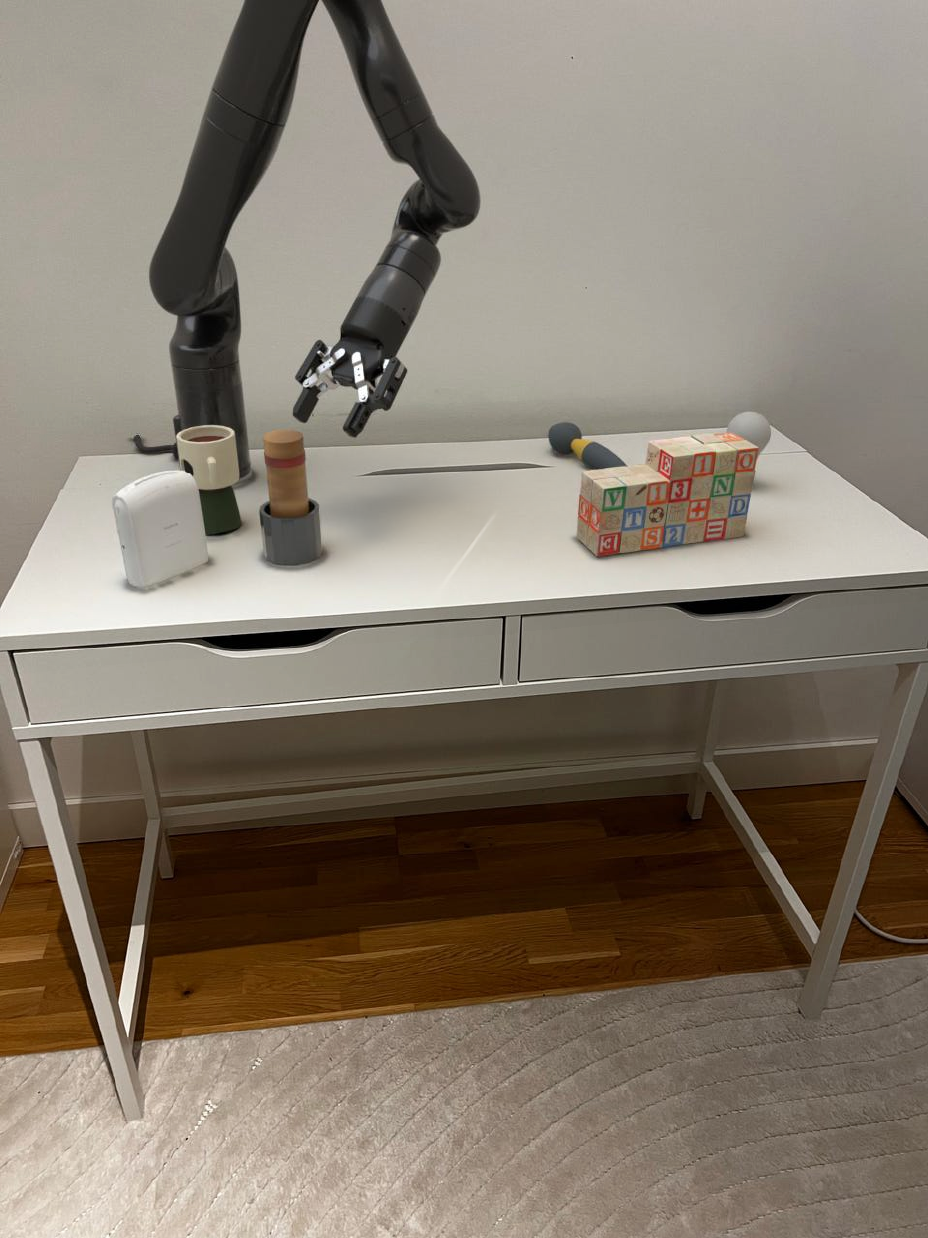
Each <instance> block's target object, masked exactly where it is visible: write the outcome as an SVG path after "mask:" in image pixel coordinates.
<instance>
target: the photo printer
mask: <svg viewBox="0 0 928 1238" xmlns="http://www.w3.org/2000/svg"><path fill="white" fill-rule="evenodd" d="M111 502H112V503H111V504H112V505H111V507H112V510H113V517H114V520H115V521H114V522H115V526H116V530H117V535H118V541H119V545H120V551H121V556H122V559H123V560H122V561H123V565H124V566H123V567H124V571H125V576H126V578H127V580H128V583H129V584H130V585H131V586H135V587H141V588H147V587H150V586H154V585H157V584H159V583H162V582H164V581H167V580H169V579H172V578H174V577H176V576H179V575H181V574H184V573H187V572H189V571H191V570H193V569H195V568H198V567H200V566H202V565H204V564H206V563H208V562H209V550H208V543H207V535H206V534H205V528H204V522H203V515H202V509H201V502H200V496H199V490H198V486H197V483H196V481H195V479H194V478H193V476H192V475H191V474H190V473H186V472H185V471H180V470H165V471H159V472H155V473H151V474H147V475H145V476H143V477H141V478H138V479H136V480H134V481H132V482H130V483H128V484H127V485H126V486H124V487H123V488H121V489H120V490H119V491H117V492H116V493H115V494H114V495H113V497H112V501H111Z"/></svg>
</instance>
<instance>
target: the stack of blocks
mask: <svg viewBox="0 0 928 1238" xmlns="http://www.w3.org/2000/svg"><path fill="white" fill-rule="evenodd" d="M758 450H759V448H758V447H757V446H755V445H753V444H752V443H750V442H748V441H747V440H744V439H743V438H741V437H739V436H737V435H735V434H733V433H726V432H723V433H714V434H713V433H700V434H693V435H691V436H689V435H687V436H678V437H671V438H665V439H664V438H663V439H655V440H649V441H648V442H647V450H646V457H645V458H646V459H645V463H642V464H635V465H634V464H633V465H627V466H626V467H625V466H623V467H614V468H606V469H598V470H594V469H590V470H582V471H581V479H580V489H579V490H580V491H579V497H578V509H577V524H576V525H577V526H576V538H577V539H578V540H579V541H580V542H581V543H582V544H583V545H585V547H586V548H587V549H588V550H589V551H591V552H592V554H594V555H595V556H596V557H601V556H603V557H604V556H609V555H616V554H625V553H633V552H638V551H646V550H655V549H661V548H665V547H673V546H680V545H688V544H695V543H701V542H710V541H718V540H726V539H733V538H734V539H735V538H742V537H744V536H745V533H746V526H747V522H748V512H749V507H750V502H751V497H752V492H753V488H754V483H755V479H756V472H757V471H756V466H757V461H758V458H757V455H758Z"/></svg>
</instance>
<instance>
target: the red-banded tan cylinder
mask: <svg viewBox="0 0 928 1238" xmlns="http://www.w3.org/2000/svg"><path fill="white" fill-rule="evenodd" d="M262 441H263V450H264V451H263V458H264V463H265V471H266V481H267V491H268V501H269V502H270V512H271V516H273V517H278V518H295V517H300V516H304V515H306V514H309V504H308V498H309V491H308V481H307V479H308V477H307V468H306V460H307V457H306V456H307V455H306V449H305V441H304V434H303V433H302V432H300V431H298V430H293V429H277V430H272V431H268V432H267V433H265V434H263V437H262Z"/></svg>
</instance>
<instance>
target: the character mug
mask: <svg viewBox="0 0 928 1238" xmlns="http://www.w3.org/2000/svg"><path fill="white" fill-rule="evenodd" d="M176 438H177V445H178V452H179V458H178V461H179V460H180V465H179V469H180V468H181V471H185V472H186V473H190V474H191V475H192V476H193V478H194V479H195V481H196V483H197V486H198V490H199V496H200V502H201V509H202V515H203V522H204V528H205V535H206V536H210V535H216V534H221V533H226V532H229V531H230V532H231V531H233V530H235V529H238V528H240V526H241V525H242V524H243V522H242V518H241V514H240V509H239V505H238V502H237V498H236V494H235V490H234V488H233V487H232V486H234V485H233V484H235V483H236V482H237V481H238V480H239V466H238V457H237V448H236V440H235V432H234V431H233V430H232V429H231V428H228V427H225V426H217V425H204V426H197V427H191V428H188V429H185V430H183V431H181V432H179V433H178V434H177V436H176ZM176 438H175V439H176ZM231 485H232V486H231Z"/></svg>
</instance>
